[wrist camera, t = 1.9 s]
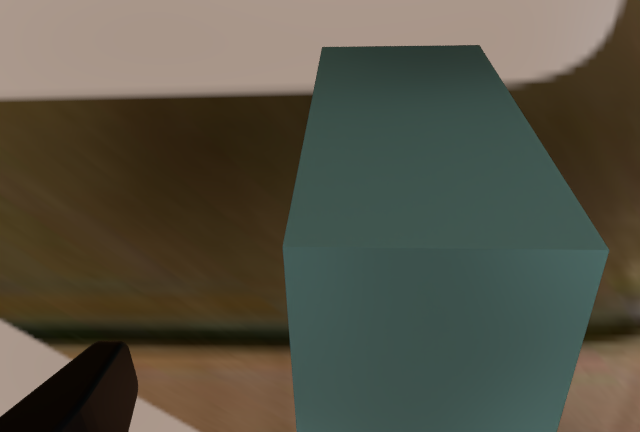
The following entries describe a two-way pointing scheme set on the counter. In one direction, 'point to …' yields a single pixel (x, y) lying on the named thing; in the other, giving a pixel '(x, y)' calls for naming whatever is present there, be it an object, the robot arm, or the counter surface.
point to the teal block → (431, 252)
